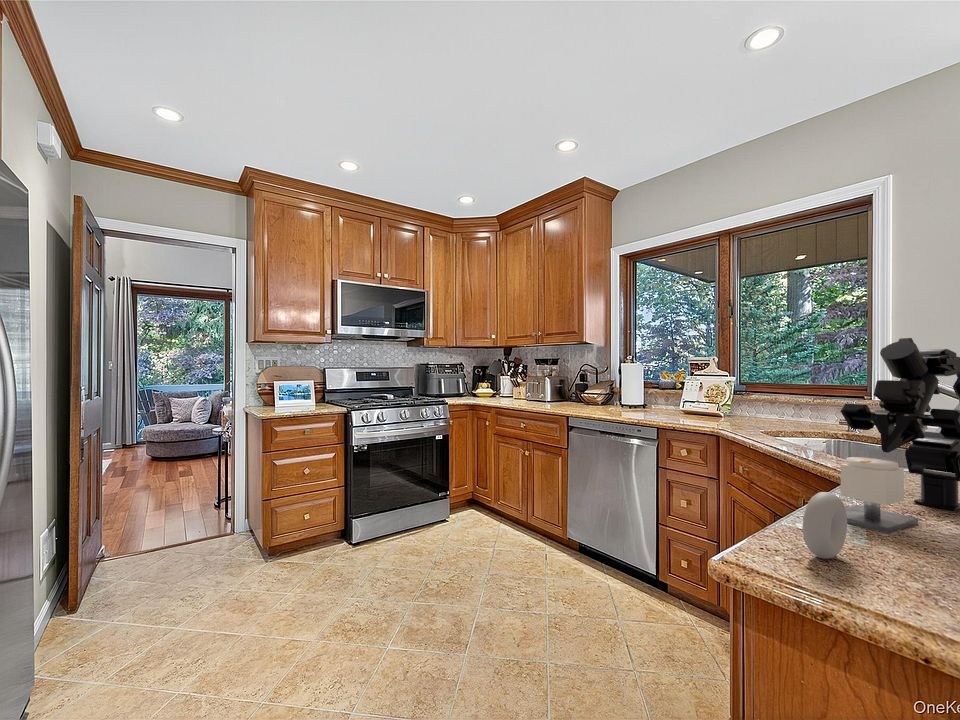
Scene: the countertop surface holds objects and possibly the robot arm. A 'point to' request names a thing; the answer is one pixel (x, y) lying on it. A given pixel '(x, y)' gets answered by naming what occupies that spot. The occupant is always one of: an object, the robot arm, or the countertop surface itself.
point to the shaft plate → (877, 518)
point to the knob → (872, 480)
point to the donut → (825, 525)
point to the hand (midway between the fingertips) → (884, 450)
